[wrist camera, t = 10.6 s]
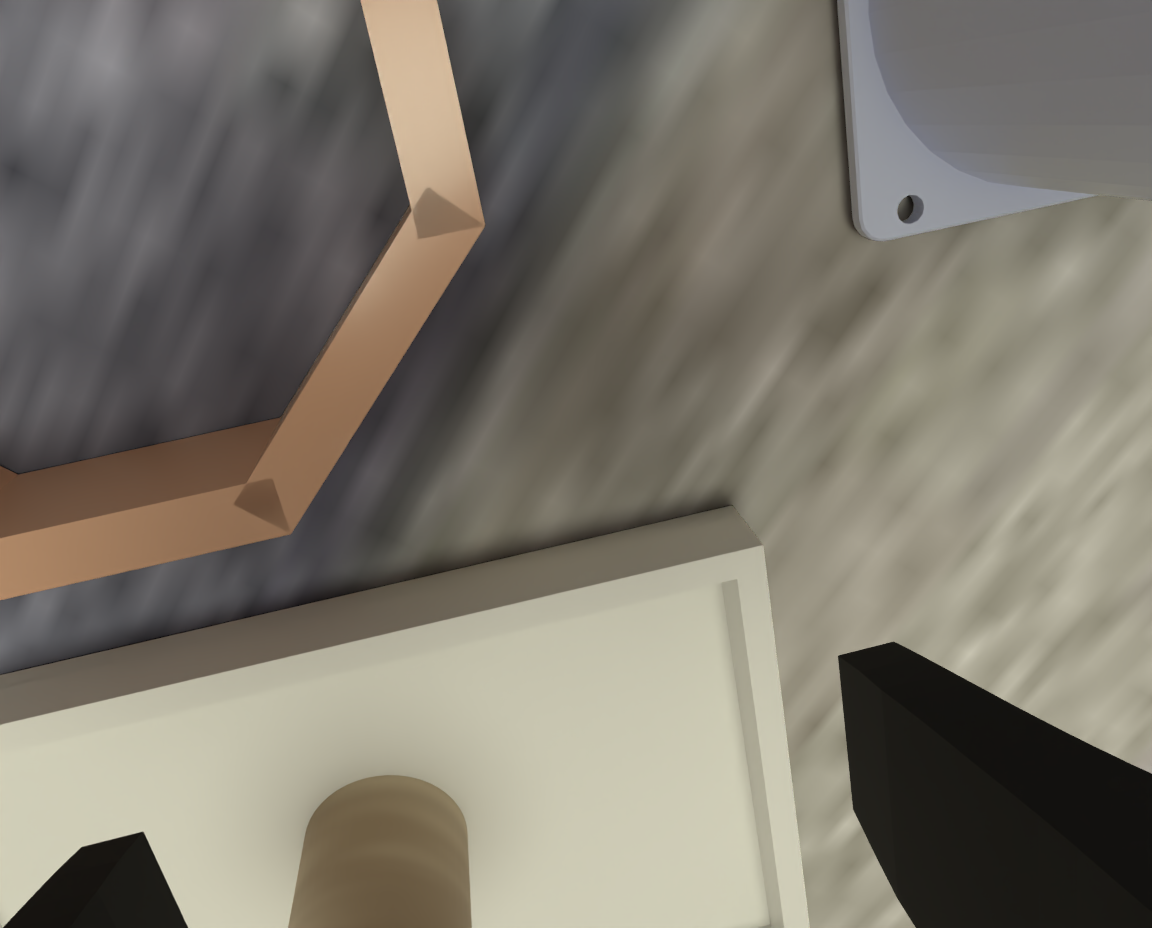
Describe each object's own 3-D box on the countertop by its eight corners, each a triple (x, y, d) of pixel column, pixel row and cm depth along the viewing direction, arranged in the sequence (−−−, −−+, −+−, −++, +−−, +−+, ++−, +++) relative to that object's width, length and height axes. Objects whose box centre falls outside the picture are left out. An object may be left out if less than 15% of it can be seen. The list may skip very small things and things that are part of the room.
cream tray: (732, 505, 20) (762, 545, 18) (787, 916, 24) (816, 983, 22) (-130, 705, 18) (-194, 770, 17) (93, 1099, 23) (62, 1186, 21)
